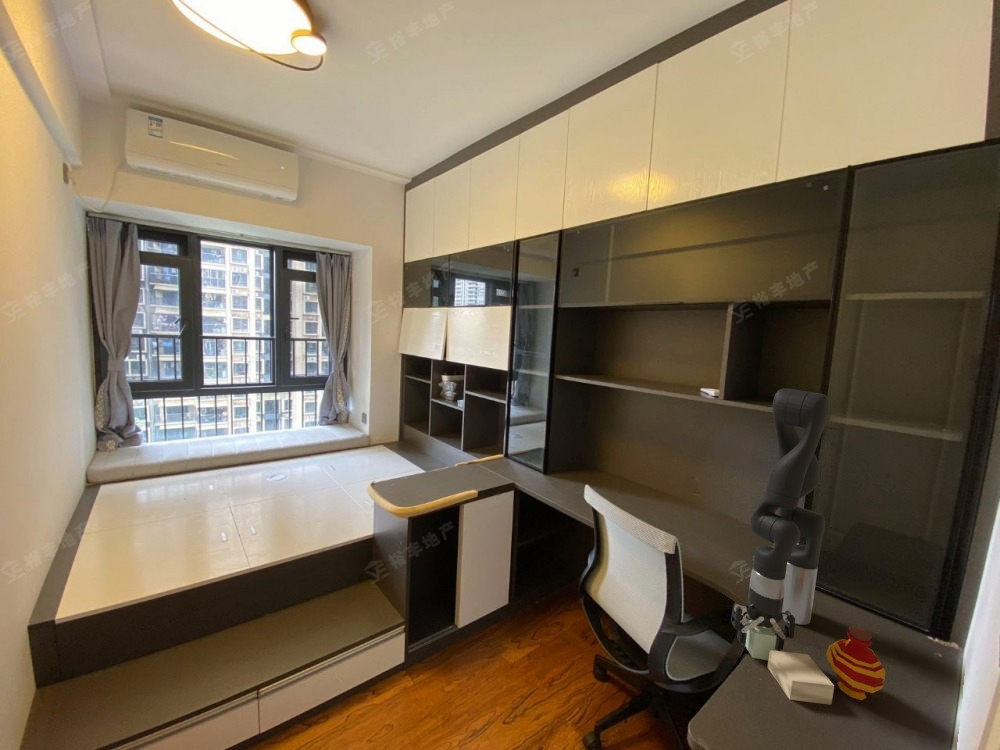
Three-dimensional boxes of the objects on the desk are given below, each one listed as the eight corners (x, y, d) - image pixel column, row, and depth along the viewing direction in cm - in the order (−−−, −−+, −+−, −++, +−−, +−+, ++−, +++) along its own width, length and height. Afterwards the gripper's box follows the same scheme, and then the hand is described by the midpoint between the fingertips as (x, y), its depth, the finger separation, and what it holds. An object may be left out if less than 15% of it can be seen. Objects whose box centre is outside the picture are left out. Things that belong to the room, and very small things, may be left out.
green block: (744, 643, 108) (746, 619, 107) (764, 646, 107) (767, 622, 106) (752, 657, 103) (755, 632, 102) (773, 661, 102) (776, 636, 102)
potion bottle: (852, 671, 100) (860, 616, 99) (893, 710, 90) (904, 649, 88) (812, 671, 100) (819, 615, 98) (849, 710, 89) (858, 648, 88)
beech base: (767, 668, 100) (769, 649, 100) (805, 672, 100) (807, 654, 99) (789, 700, 91) (792, 680, 91) (831, 705, 91) (834, 685, 90)
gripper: (789, 584, 106) (781, 640, 107) (731, 575, 108) (724, 631, 110) (805, 602, 98) (797, 663, 100) (742, 593, 101) (735, 652, 102)
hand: (759, 646), depth 105 cm, fingers open, 8 cm apart
